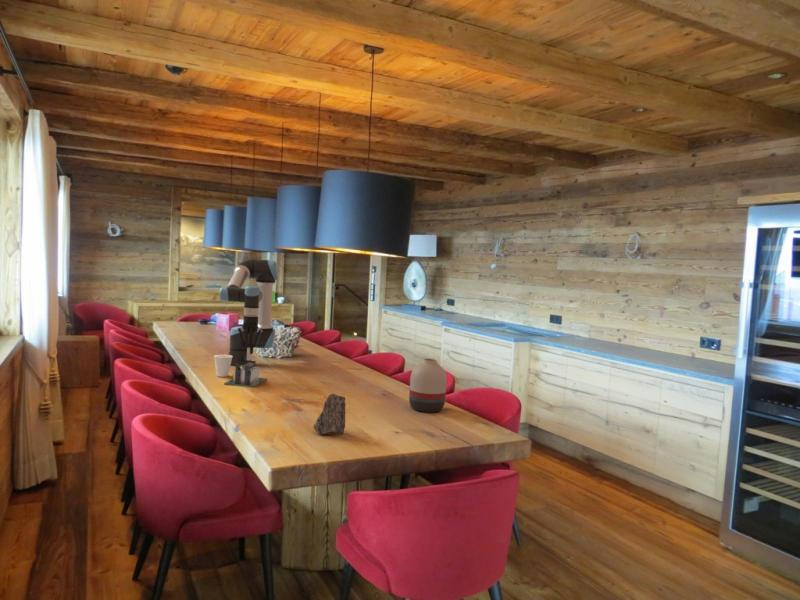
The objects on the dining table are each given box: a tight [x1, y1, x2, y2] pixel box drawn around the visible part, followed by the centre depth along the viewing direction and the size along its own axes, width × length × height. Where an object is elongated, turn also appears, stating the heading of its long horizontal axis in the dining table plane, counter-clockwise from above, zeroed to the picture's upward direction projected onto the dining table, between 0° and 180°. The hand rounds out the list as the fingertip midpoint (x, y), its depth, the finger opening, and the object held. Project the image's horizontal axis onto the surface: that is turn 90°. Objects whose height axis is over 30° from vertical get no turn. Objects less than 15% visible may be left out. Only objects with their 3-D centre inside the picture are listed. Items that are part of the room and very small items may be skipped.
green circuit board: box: [223, 360, 268, 388], centre depth 301 cm, size 20×16×10 cm
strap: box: [239, 362, 254, 370], centre depth 300 cm, size 15×3×1 cm, turn 175°
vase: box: [408, 358, 448, 413], centre depth 268 cm, size 17×17×24 cm
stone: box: [313, 393, 346, 436], centre depth 221 cm, size 13×13×15 cm
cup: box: [213, 354, 233, 378], centre depth 312 cm, size 10×10×11 cm
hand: (248, 359), depth 303 cm, fingers closed
